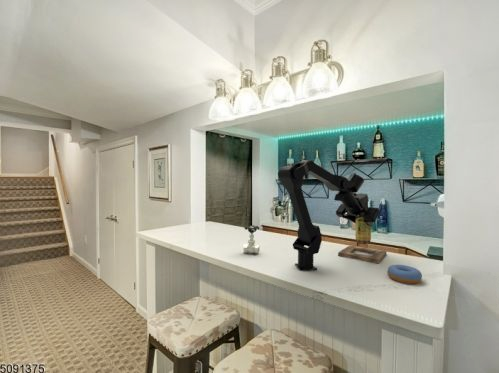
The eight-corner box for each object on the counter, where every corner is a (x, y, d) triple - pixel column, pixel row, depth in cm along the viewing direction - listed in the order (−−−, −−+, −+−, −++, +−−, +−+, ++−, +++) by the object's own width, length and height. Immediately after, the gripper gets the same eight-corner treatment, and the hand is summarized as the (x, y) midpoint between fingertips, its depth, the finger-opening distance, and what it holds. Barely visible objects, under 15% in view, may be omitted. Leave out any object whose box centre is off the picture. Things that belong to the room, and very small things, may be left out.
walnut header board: (386, 254, 114) (386, 251, 114) (378, 263, 101) (378, 259, 101) (349, 248, 124) (349, 245, 124) (338, 255, 111) (338, 252, 111)
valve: (257, 256, 110) (257, 228, 109) (242, 255, 111) (242, 227, 111) (260, 252, 116) (260, 225, 116) (245, 251, 117) (246, 225, 117)
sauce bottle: (357, 245, 110) (356, 199, 109) (354, 240, 116) (352, 197, 115) (373, 244, 109) (372, 198, 108) (369, 240, 115) (368, 196, 114)
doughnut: (427, 286, 80) (426, 271, 80) (391, 284, 82) (390, 269, 83) (416, 277, 89) (415, 264, 89) (384, 276, 92) (384, 263, 92)
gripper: (378, 187, 102) (393, 214, 107) (340, 186, 118) (355, 209, 124) (365, 208, 98) (381, 234, 104) (328, 204, 114) (344, 226, 120)
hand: (365, 225), depth 113 cm, fingers closed on sauce bottle, 6 cm apart
